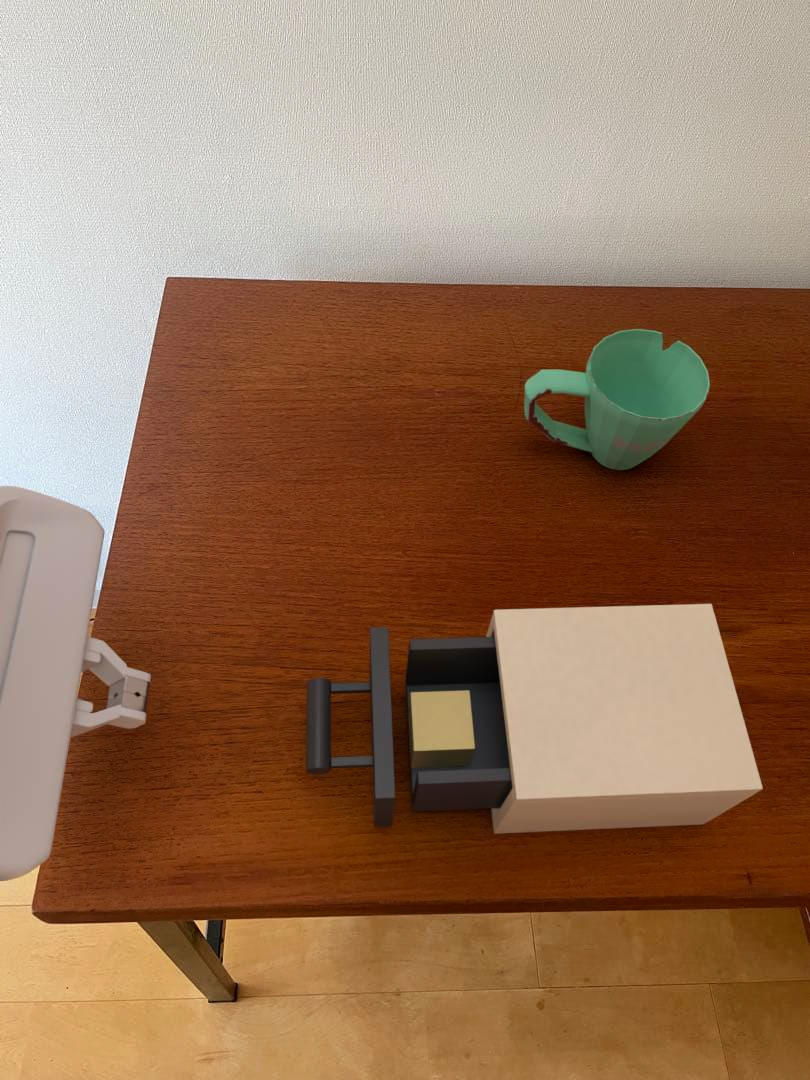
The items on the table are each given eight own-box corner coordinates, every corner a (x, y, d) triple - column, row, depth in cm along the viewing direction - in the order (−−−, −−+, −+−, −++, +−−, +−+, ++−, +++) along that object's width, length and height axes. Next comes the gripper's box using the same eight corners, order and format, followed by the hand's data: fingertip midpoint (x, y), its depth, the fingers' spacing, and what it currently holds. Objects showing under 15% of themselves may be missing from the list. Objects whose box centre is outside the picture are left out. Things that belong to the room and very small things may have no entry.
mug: (657, 406, 76) (694, 328, 67) (680, 492, 70) (724, 418, 62) (504, 408, 75) (521, 328, 66) (516, 495, 70) (537, 420, 61)
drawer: (310, 829, 54) (301, 801, 47) (311, 674, 59) (304, 629, 53) (572, 818, 55) (601, 789, 48) (549, 666, 60) (572, 621, 54)
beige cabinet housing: (493, 833, 55) (516, 799, 46) (476, 666, 61) (493, 609, 53) (703, 824, 56) (763, 789, 47) (665, 660, 62) (712, 603, 54)
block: (410, 768, 55) (413, 751, 51) (407, 711, 57) (410, 691, 53) (468, 766, 55) (475, 748, 52) (463, 710, 57) (469, 689, 54)
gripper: (-164, 858, 31) (153, 884, 40) (-39, 441, 42) (189, 535, 50) (-212, 883, 34) (89, 901, 43) (-86, 493, 45) (135, 572, 54)
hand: (143, 702), depth 47 cm, fingers closed
